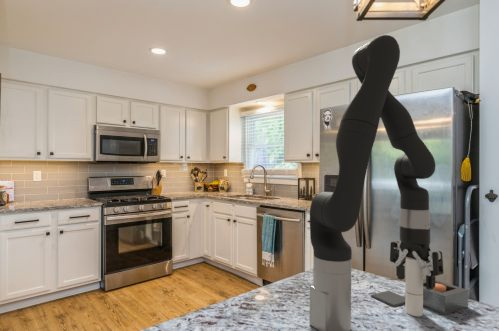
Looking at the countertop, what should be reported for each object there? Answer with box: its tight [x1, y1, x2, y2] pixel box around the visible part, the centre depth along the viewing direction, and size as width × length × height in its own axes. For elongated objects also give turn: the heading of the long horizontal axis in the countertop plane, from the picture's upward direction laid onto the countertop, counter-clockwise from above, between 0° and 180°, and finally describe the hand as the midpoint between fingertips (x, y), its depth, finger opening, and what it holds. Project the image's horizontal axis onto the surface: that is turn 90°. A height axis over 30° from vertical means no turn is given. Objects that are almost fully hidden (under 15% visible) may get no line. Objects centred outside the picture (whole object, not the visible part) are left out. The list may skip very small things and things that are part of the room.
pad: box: [370, 290, 406, 308], centre depth 94 cm, size 8×8×1 cm
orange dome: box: [433, 283, 446, 293], centre depth 92 cm, size 4×4×2 cm
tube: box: [404, 257, 424, 317], centre depth 86 cm, size 4×4×15 cm
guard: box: [423, 278, 469, 316], centre depth 92 cm, size 11×11×5 cm
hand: (415, 283), depth 86 cm, fingers open, 8 cm apart
